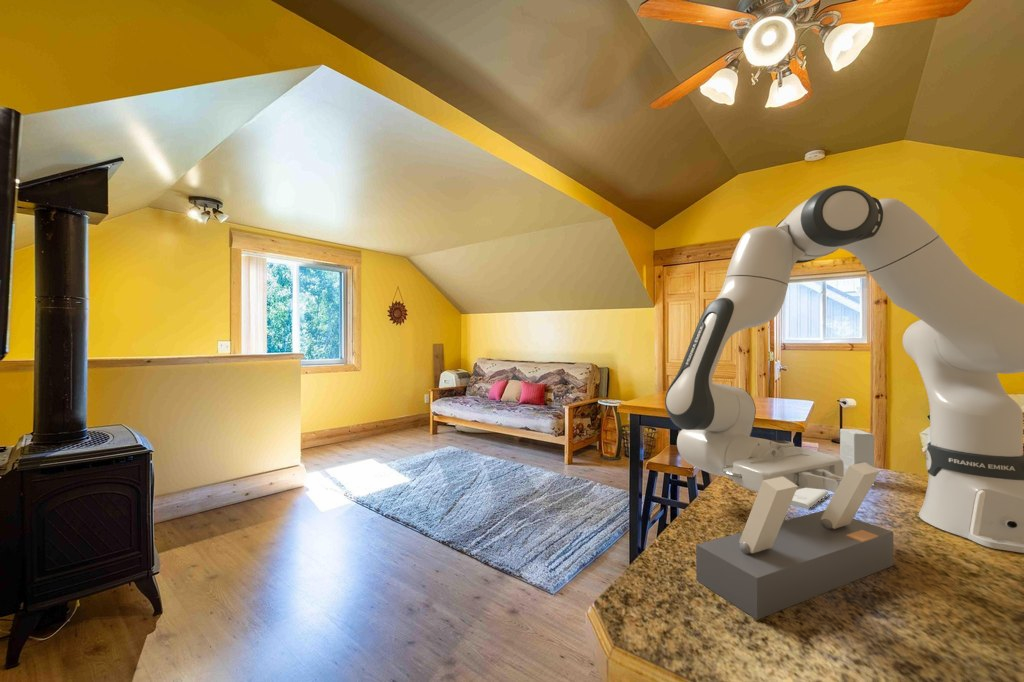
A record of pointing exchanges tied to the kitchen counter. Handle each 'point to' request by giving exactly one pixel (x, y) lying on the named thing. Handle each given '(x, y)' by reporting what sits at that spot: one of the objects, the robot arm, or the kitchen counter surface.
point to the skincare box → (856, 447)
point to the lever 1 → (767, 514)
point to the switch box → (793, 563)
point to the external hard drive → (807, 497)
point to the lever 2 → (849, 495)
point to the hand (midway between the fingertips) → (842, 485)
